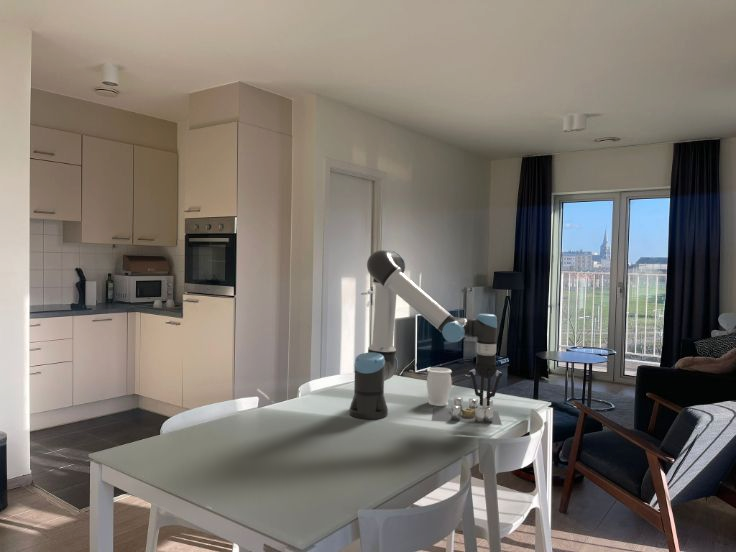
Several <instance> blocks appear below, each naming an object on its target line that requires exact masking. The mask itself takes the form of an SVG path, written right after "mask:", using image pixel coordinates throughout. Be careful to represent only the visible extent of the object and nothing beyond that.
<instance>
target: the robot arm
mask: <svg viewBox="0 0 736 552" xmlns="http://www.w3.org/2000/svg"><path fill="white" fill-rule="evenodd" d="M366 267H367V271H368V273H369V275H370V276H371V278H373V279H372V283H373V284H374V285H375V287H376V288H375V299H374V302H375V303H374V316H373V328H372V329H373V330H372V342H371V344H370V345H369V346H368V348H367V349H368V350H367V352H365V353H360V354H358V355H357V356H356V357H355V361H354V386H353V387H354V389H353V390H354V394H353V397H352V401H351V402H350V406H349V415H350V416H351V417H354V418H357V419H363V420H377V419H383V418H385V417H388V413H389V409H388V408H389V407H388V405H387V401H386V399H385V393H384V392H385V390H384V389H385V381H387V380H389V379H391V378H392V377H394V376H395V374H396V373H397V371H398V368H399V367H398V366H399V361H398V358H397V356H396V355H397V353H396V352H397V349H396V347H395V346H394V335H395V334H394V333H395V319H396V308H397V307H396V305H397V296H398V297H400V298H401V299H402V300H403V302H405V303H407V305H409V306H410V307H411V308H412V309H413V310H415V311H416V312H417V313H418V314H419V315H420V316H422V317H423V318H424V319H425V320H426V321H427V322H428V323H430V324H431V325H432V326H433V327H435V329H437V331H439V332H440V333H442V337H443V338H444V339H445V341H446V342H449V343H458V342H460V341H461V340H463V339H464V338H472V339H476V355H475V357H476V359H475V360H476V361H475V366H474V368H473V369H470V370H468V373H469V375H470V377H471V380H472V384H473V389H474V394H475V396H477V397H479V406H481V408H485V407H487V406H489V405H490V399H491V398H492V397H495V396H496V392H497V388H498V385H499V383H500V379H501V377H502V376H503V372H501V371H499V370H498V367H497V364H496V363H497V355H496V353H497V338H498V336H497V335H498V318H497V315H495V314H492V313H479V314H477V318H470V317H469V318H468V317H457V316H453V315H452V314H451V313H450V312H449V311H448V310H447V309H445V308H444V307H443V306H442V305H440V304H439V303H438V302H437V301H436V300H434V299H433V298H432V297H431V296H430V295H429V294H427V293H426V292H425V291H424V290H423V289H422V288H420V287H419V285H417V284H416V283H414V282H413V281H412V280H411V279H410V278H408V277H407V276H406V275H405V274H404V273H405V271H406V262H405V259H404V257H403V256H402V255H401V254H400V253H399V252H397V251H394V250H383V249H381V250H380V249H379V250H377V251H374V252H372V253H371V254H370V256H369V257H368V259H367V263H366ZM476 373H477V375H478V376H479V377H480V378H479V379H480V380H479V390H478V385H477V379H476V376H475V375H476ZM494 375H495V379H494V383H493V387H492V390H491V379H492V377H493V376H494ZM485 378H486V396H484V390H485V389H484V387H485V385H484V383H485V382H484V381H485Z"/></svg>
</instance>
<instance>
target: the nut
mask: <svg viewBox="0 0 736 552" xmlns="http://www.w3.org/2000/svg"><path fill="white" fill-rule="evenodd" d="M462 415H463V416H464V417H468V418H472V417H475V410H474V409H470V408H469V407H466V408H462Z"/></svg>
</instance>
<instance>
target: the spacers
mask: <svg viewBox="0 0 736 552" xmlns="http://www.w3.org/2000/svg"><path fill="white" fill-rule="evenodd" d="M463 403H464V398H463V397H461V396H454V397H453V405H450V408H451V420H454V421H459V420H460V419H461V411H462V409H463ZM478 405H479V399H478V398H473V397H471V398H468V408H470V409H474V410H475V422H476V423H475V424H477V423H492V422H493V411H494V400H493V399H491V398H490V405H489V406H487V407H485V408H482V407H479V406H478Z"/></svg>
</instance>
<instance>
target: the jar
mask: <svg viewBox="0 0 736 552" xmlns="http://www.w3.org/2000/svg"><path fill="white" fill-rule="evenodd" d="M426 372H427V373H428V374H427V378H426V388H427V389H426V390H427V395H428V399H429V401H428V404H429V405H431V406H435V407H436V406H437V407H444V406H445V407H446V406H448V405H449V402H448V401H449V399H450V397H451V396H450V395H451V391H452V376H451V374H452V373H453V371H452V369H450V368H448V367H430V368H427V370H426Z"/></svg>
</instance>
